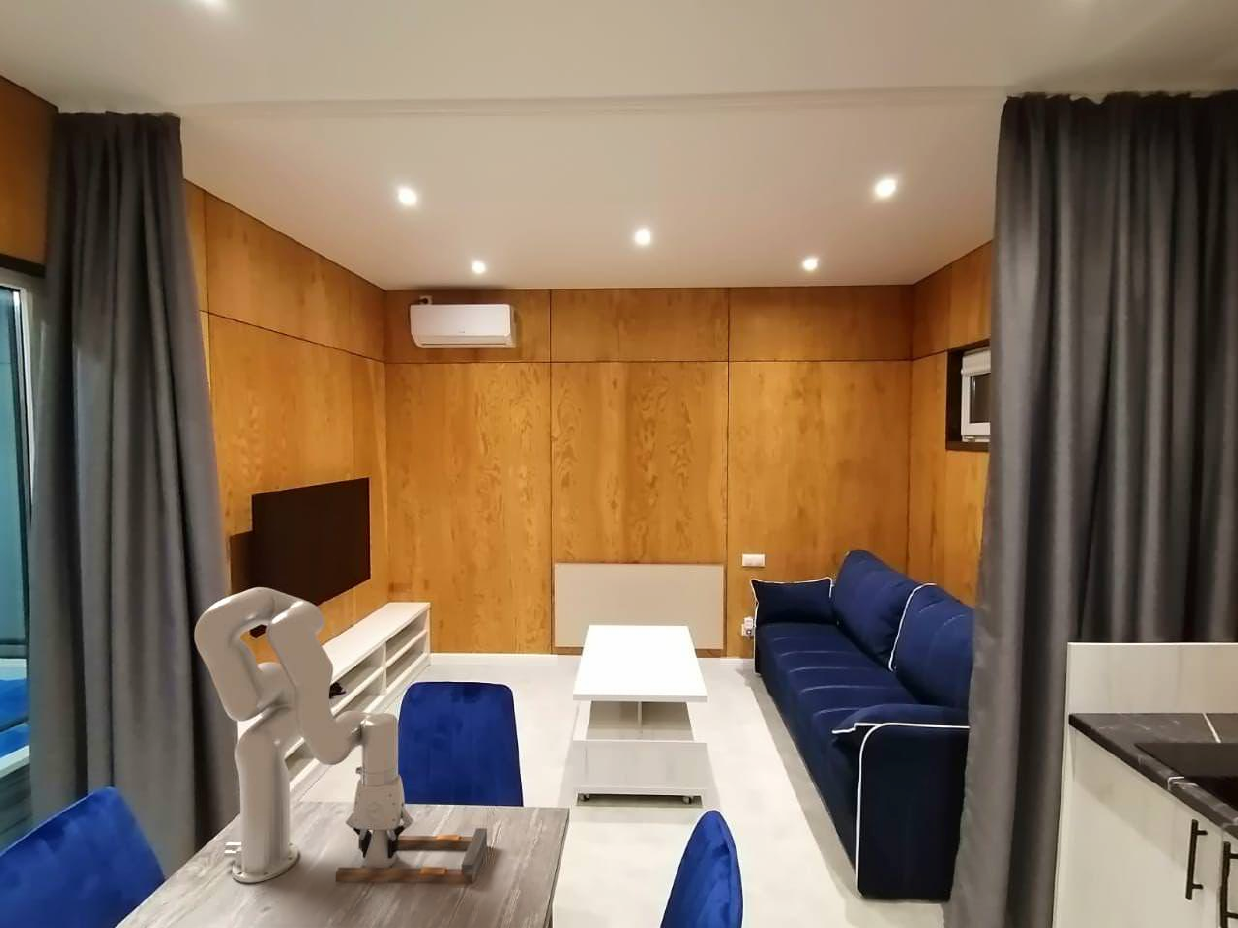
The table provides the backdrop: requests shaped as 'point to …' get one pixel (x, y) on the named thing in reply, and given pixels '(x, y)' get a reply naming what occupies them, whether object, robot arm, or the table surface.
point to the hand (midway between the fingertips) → (379, 853)
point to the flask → (378, 851)
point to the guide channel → (426, 874)
